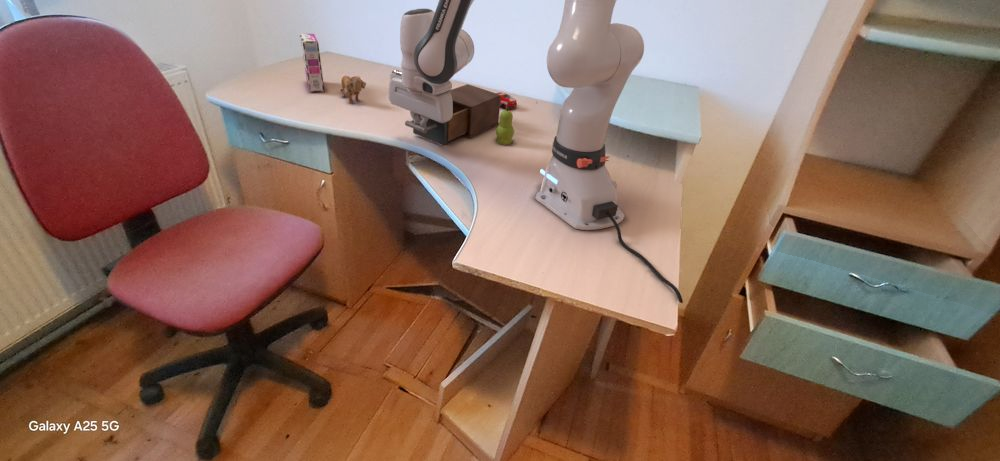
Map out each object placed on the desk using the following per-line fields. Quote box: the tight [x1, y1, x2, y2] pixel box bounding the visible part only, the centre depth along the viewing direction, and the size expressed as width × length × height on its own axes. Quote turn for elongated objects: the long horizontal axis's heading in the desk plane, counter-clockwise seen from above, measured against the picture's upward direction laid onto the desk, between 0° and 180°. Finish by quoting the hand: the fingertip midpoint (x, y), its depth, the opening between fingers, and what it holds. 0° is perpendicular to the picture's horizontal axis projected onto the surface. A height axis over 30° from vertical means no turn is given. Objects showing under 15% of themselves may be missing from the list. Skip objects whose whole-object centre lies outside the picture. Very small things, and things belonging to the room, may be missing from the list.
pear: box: [495, 107, 515, 146], centre depth 131 cm, size 5×5×11 cm
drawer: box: [404, 103, 469, 147], centre depth 130 cm, size 19×12×8 cm, turn 145°
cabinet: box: [449, 83, 501, 139], centre depth 139 cm, size 15×13×10 cm
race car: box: [495, 92, 518, 110], centre depth 158 cm, size 13×5×4 cm, turn 54°
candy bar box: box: [299, 33, 326, 93], centre depth 153 cm, size 11×5×16 cm, turn 25°
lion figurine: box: [340, 75, 367, 105], centre depth 149 cm, size 15×5×9 cm, turn 44°
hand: (420, 128), depth 124 cm, fingers closed
